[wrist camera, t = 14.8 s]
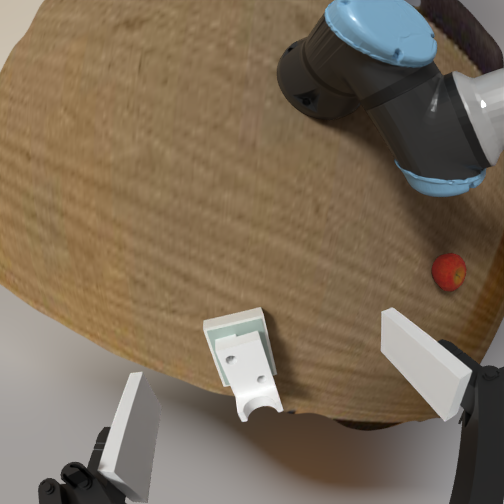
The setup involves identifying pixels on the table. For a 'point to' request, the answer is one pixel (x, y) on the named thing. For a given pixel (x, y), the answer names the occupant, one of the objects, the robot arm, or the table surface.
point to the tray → (238, 334)
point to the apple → (449, 271)
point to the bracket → (248, 372)
